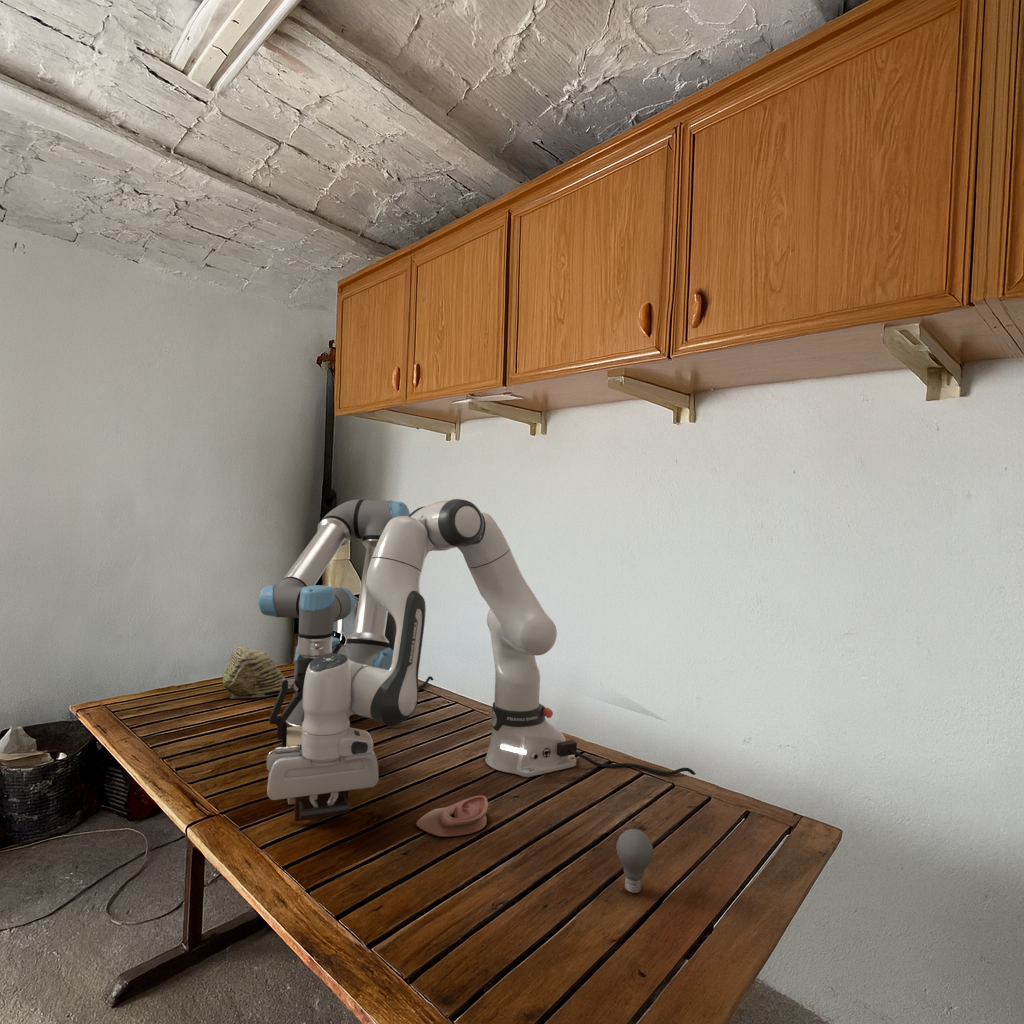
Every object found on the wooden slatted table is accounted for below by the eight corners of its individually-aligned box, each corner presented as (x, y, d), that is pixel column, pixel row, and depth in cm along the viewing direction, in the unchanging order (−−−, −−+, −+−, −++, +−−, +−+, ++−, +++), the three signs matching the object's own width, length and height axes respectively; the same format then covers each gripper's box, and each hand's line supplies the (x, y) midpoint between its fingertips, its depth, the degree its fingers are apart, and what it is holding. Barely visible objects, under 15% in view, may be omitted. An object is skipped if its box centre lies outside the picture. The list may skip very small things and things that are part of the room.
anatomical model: (411, 811, 121) (430, 785, 132) (410, 832, 121) (430, 804, 132) (478, 821, 118) (492, 794, 129) (477, 842, 118) (492, 813, 129)
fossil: (218, 695, 195) (220, 647, 195) (278, 685, 208) (279, 640, 207) (228, 703, 189) (230, 653, 188) (289, 692, 201) (290, 645, 201)
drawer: (351, 828, 120) (353, 785, 120) (296, 837, 116) (298, 792, 116) (337, 780, 140) (338, 743, 139) (289, 786, 136) (291, 748, 135)
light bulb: (610, 879, 108) (613, 822, 108) (644, 879, 109) (647, 822, 109) (619, 902, 102) (622, 840, 102) (655, 901, 103) (658, 840, 103)
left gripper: (259, 661, 136) (255, 762, 136) (370, 655, 145) (366, 750, 145) (258, 653, 143) (255, 749, 143) (364, 648, 152) (360, 738, 152)
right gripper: (266, 755, 113) (264, 831, 113) (381, 742, 121) (379, 814, 121) (266, 741, 119) (263, 814, 119) (376, 731, 127) (373, 799, 127)
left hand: (311, 750), depth 144 cm, fingers closed on cabinet, 11 cm apart
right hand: (322, 814), depth 120 cm, fingers closed, pressing on drawer
